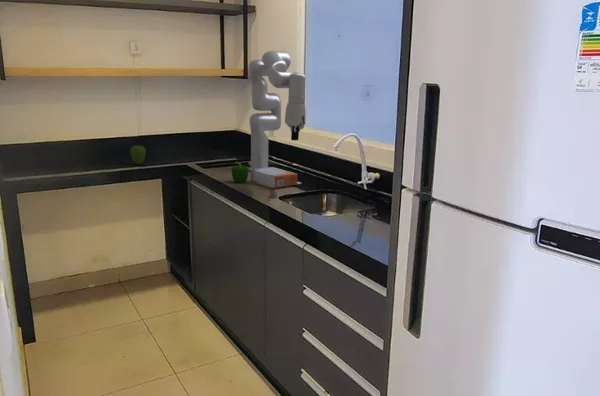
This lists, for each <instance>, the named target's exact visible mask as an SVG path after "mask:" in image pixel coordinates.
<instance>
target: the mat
mask: <svg viewBox="0 0 600 396" xmlns="http://www.w3.org/2000/svg"><path fill="white" fill-rule="evenodd" d="M255 183H256V184H258V185H261V186H265V187H267V188H271V189H275V188H274V187H271V186H268V185H265V184H262V183H259V182H255ZM301 184H302V182H300V181H297V185H301ZM277 188H279V187H277Z"/></svg>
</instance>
